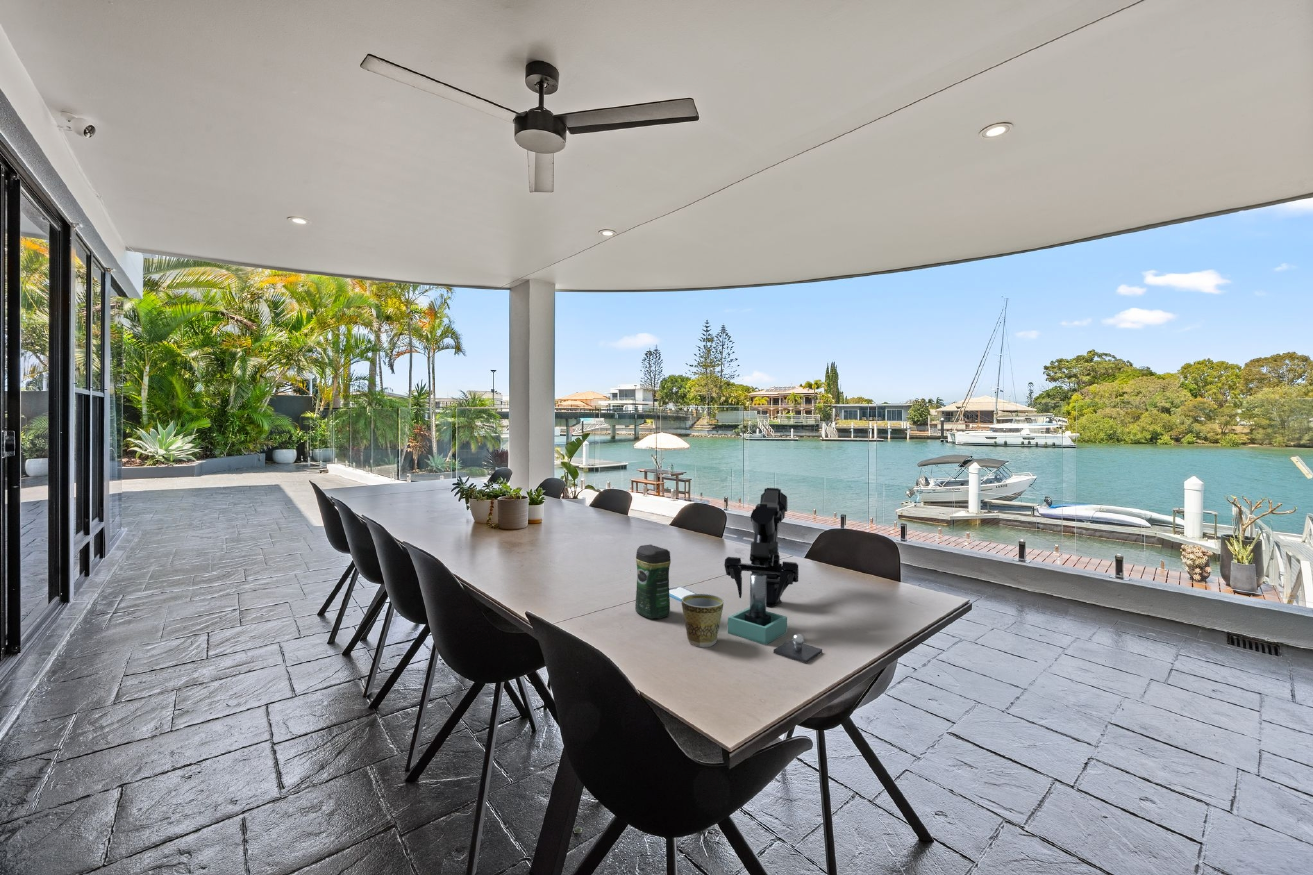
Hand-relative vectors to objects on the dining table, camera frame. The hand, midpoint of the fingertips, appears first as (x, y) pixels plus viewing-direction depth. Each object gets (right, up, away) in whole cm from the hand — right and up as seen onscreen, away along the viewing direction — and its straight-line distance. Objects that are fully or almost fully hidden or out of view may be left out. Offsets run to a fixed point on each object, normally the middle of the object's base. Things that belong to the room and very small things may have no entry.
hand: (758, 599), depth 136 cm
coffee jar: (-27, -8, +12) cm, 30 cm away
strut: (0, -8, -1) cm, 8 cm away
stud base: (+7, -9, -12) cm, 16 cm away
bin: (0, -8, -1) cm, 8 cm away
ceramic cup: (-15, -8, -5) cm, 18 cm away
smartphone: (-17, -8, +27) cm, 32 cm away
